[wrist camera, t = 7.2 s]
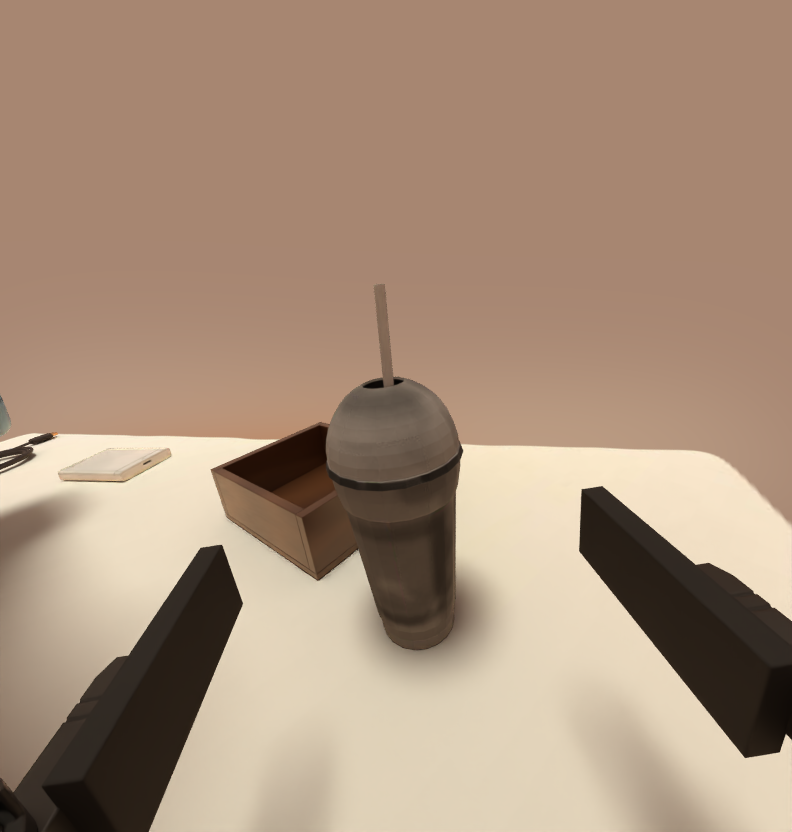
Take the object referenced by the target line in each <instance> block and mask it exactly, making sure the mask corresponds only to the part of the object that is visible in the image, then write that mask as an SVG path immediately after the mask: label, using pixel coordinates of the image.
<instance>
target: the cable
mask: <svg viewBox="0 0 792 832" xmlns="http://www.w3.org/2000/svg"><path fill="white" fill-rule="evenodd" d="M55 435H58V433H56V432H55V433H49V434H48V433H47V434H44V435H41V436H38V437H35V438H33V439H30V440H29V442H28V443H25V444H23V445H20V446H18V447H15V448H13V449H9V450H4V451H0V458H2V457H6V456H11V455H18V454H22V455H20V456H18V457H16V458H14V459H12V460H10V461H7V462H5V463H2V464H0V470H1V469H3V468H6V467H8V466H11V465H13V464H15V463H17V462H20V461H22V460H24V459H25V458H27V457H29V456H30V455H31V454H32V452H33V448H32V447H24V446H26V445H29V444H35V443H38V442H42V441H44V440H47V439H50V438H53V436H55ZM29 449H30V450H29Z"/></svg>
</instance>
